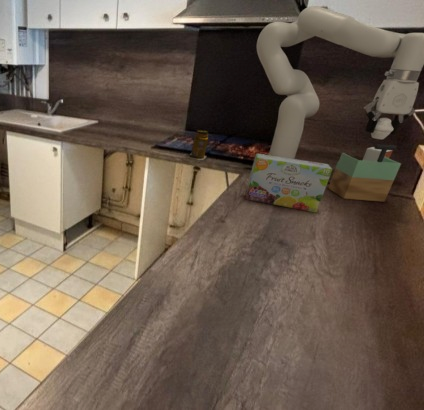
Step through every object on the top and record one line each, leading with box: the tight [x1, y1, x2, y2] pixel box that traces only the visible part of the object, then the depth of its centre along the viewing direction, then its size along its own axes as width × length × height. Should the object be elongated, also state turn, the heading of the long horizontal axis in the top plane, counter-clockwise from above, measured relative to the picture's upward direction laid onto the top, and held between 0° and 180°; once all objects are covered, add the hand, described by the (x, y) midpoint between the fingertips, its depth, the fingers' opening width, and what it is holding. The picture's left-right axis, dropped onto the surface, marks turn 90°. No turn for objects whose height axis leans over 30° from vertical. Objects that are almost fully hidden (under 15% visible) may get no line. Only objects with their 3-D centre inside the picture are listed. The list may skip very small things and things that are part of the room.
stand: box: [328, 167, 395, 203], centre depth 129 cm, size 10×14×8 cm
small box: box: [362, 146, 394, 161], centre depth 145 cm, size 8×6×13 cm
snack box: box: [245, 153, 333, 213], centre depth 115 cm, size 21×6×15 cm, turn 68°
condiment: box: [187, 129, 209, 161], centre depth 162 cm, size 7×8×12 cm
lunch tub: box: [335, 143, 402, 181], centre depth 125 cm, size 11×14×12 cm
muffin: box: [370, 117, 393, 140], centre depth 119 cm, size 6×6×7 cm
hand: (379, 132), depth 120 cm, fingers closed on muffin, 6 cm apart
